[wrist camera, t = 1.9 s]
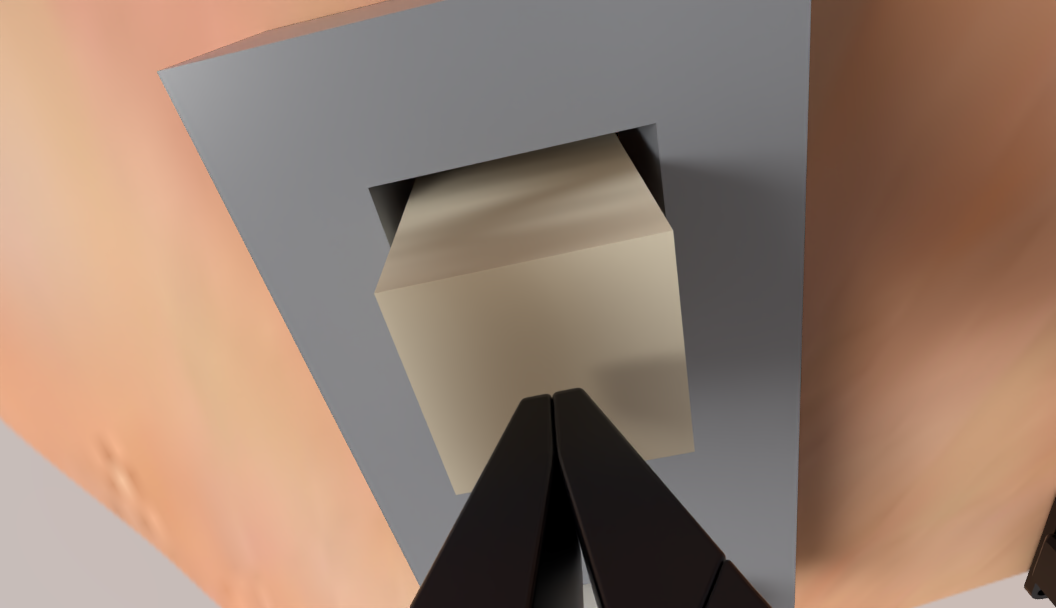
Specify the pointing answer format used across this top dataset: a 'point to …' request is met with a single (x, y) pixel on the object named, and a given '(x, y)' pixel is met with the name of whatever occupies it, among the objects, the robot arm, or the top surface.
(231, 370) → the top surface
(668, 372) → the birch peg
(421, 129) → the collar block
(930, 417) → the top surface
